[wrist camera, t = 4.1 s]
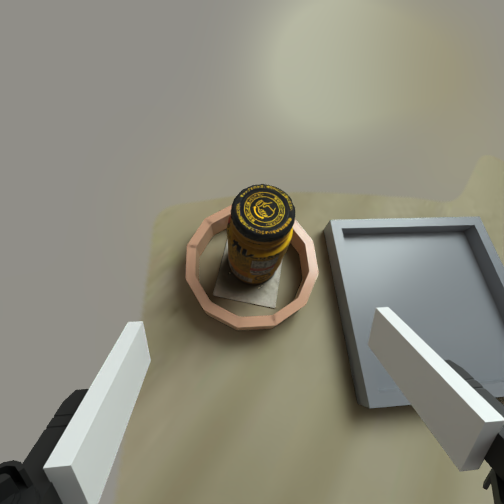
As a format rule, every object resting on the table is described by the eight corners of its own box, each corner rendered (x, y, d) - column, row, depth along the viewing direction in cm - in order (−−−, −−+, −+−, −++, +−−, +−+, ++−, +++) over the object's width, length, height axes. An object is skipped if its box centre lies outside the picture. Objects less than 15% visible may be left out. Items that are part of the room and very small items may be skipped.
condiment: (284, 243, 32) (310, 183, 21) (274, 308, 29) (299, 277, 18) (229, 232, 32) (226, 166, 21) (213, 295, 29) (199, 257, 18)
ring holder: (300, 215, 34) (306, 202, 31) (318, 325, 28) (327, 322, 25) (192, 217, 32) (188, 204, 30) (188, 333, 27) (183, 330, 24)
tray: (463, 225, 35) (479, 216, 32) (535, 388, 27) (563, 391, 25) (323, 229, 33) (330, 219, 31) (357, 403, 25) (369, 408, 23)
